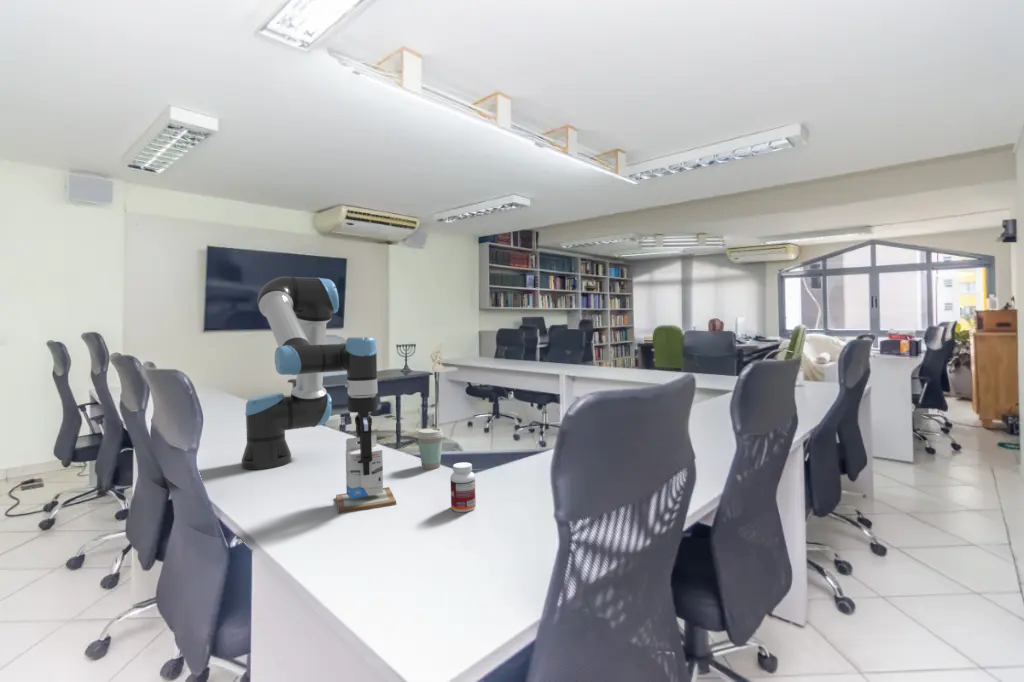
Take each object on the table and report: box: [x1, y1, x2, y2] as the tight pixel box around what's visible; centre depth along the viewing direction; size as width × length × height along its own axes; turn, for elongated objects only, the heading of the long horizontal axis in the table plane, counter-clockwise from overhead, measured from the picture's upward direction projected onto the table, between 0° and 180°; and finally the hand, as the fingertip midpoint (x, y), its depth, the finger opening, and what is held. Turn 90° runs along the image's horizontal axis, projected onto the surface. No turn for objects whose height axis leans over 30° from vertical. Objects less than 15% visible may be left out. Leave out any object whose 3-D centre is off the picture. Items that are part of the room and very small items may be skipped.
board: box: [335, 486, 397, 514], centre depth 126 cm, size 12×14×1 cm
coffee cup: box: [416, 427, 444, 470], centre depth 156 cm, size 8×9×12 cm
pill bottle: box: [450, 462, 477, 513], centre depth 120 cm, size 6×6×11 cm
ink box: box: [345, 434, 384, 499], centre depth 126 cm, size 8×5×15 cm, turn 123°
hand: (365, 482), depth 126 cm, fingers closed on ink box, 5 cm apart
